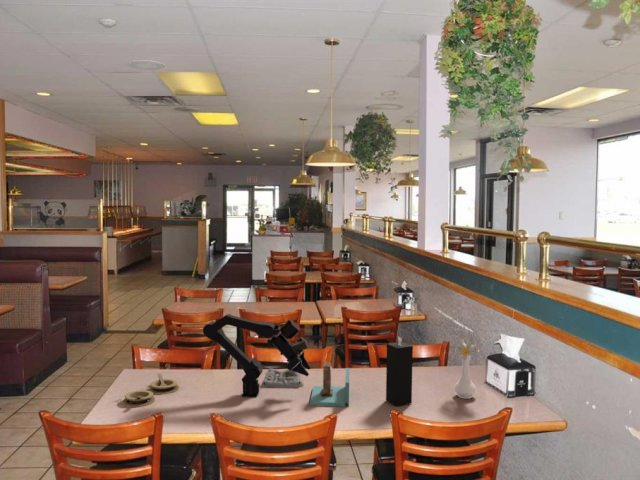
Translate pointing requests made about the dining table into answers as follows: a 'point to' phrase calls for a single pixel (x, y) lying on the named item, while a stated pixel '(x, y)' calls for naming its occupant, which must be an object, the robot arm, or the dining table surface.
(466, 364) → the flower vase
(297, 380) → the wall plaque
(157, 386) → the tableware set
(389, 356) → the black square bottle
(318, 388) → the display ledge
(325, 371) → the photo frame
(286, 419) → the dining table surface
